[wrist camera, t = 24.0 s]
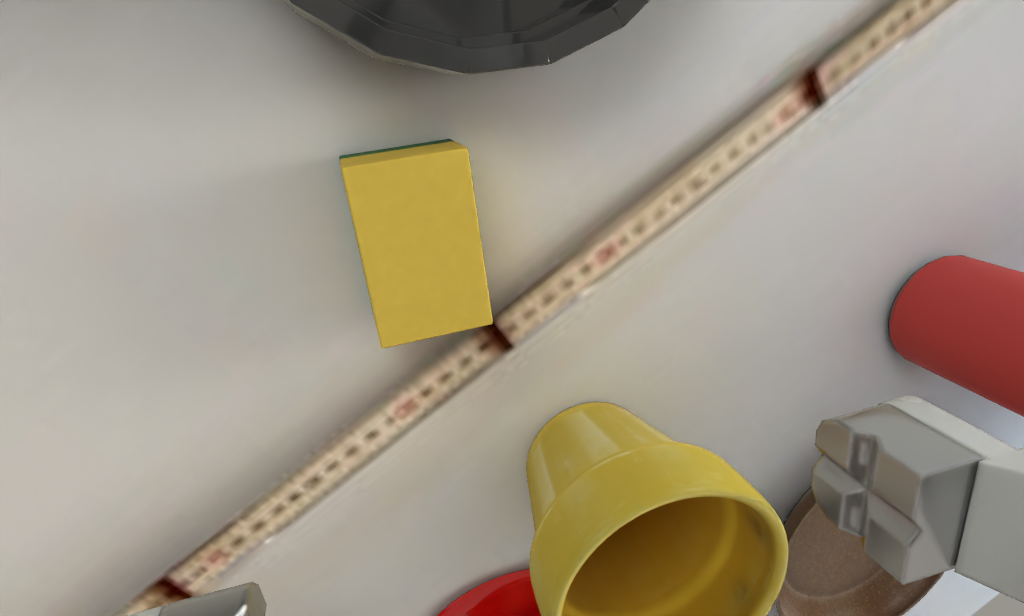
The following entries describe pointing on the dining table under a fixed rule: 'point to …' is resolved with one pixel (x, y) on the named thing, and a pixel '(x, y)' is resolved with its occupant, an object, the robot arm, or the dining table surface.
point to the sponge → (418, 239)
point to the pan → (469, 29)
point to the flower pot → (645, 523)
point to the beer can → (965, 326)
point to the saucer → (838, 572)
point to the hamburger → (498, 598)
